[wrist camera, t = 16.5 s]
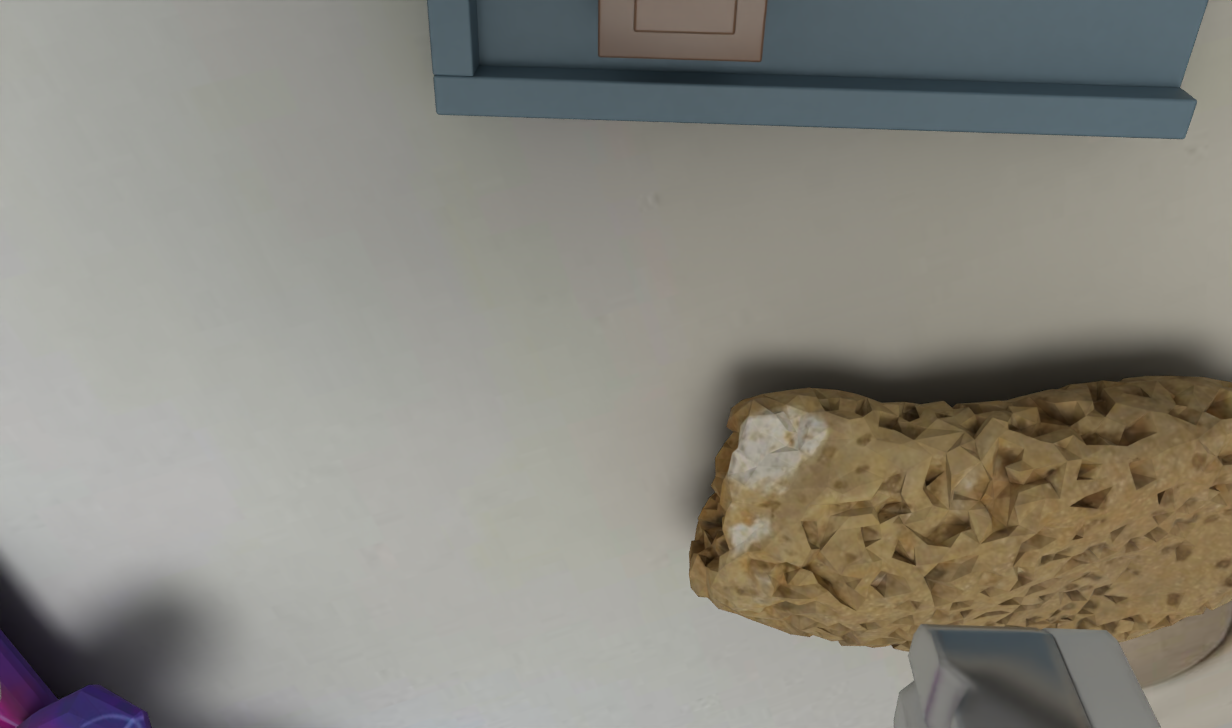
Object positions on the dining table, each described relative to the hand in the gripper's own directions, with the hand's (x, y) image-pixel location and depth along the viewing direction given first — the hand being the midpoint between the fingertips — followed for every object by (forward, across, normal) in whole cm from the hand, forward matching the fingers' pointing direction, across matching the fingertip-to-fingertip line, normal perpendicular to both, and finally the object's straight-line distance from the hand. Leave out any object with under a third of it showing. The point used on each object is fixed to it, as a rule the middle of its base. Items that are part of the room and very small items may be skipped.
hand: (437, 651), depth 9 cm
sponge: (+26, -14, +17) cm, 34 cm away
